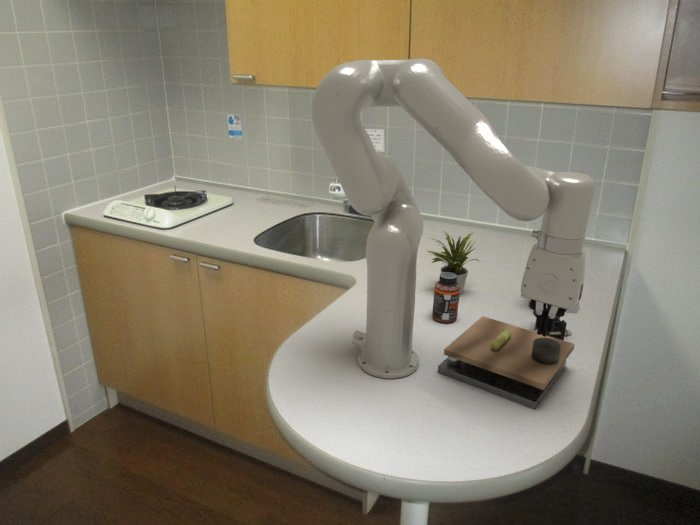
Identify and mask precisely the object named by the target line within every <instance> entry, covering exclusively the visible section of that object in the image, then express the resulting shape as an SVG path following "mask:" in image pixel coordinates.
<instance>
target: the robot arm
mask: <svg viewBox="0 0 700 525" xmlns="http://www.w3.org/2000/svg"><path fill="white" fill-rule="evenodd" d="M315 89H316V90H315V91H314V94H313V97H312V102H311V108H310V109H311V110H310V113H311V120H312V121H311V122H312V125H313V129H314V132H315V133H316V136H317V138H318V141H319V142H320V145H321V147H322V148H323V151H324V152H325V154H326V156H327V159H328V160H329V163H330V165H331V167H332V170H333V172H334V174H335V176H336V178H337V180H338V183H339V185H340V187H341V188H342V191H343V193H344V195H345V197H346V200H347V201H348V203H349V204H350V206H351V207H352V209H353V210H354V211H356V212H357V213H359V214H361V215H364V216H370V217H371V218H372V220H373V222H374V224H372V227H371V229H370V231H369V233H368V235H367V239H366V244H365V245H366V246H365V257H366V279H367V281H366V316H365V317H366V318H365V319H366V320H365V321H366V322H365V332H364V331H361V330H359V329H357V330H355V331H354V332H353V335H352V339H351V344H353V345H355V346H358V347H360V350H359V352H358V354H357V362H358V366H359V368H360V369H361V370H363V371H364V372H365V373H367V374H369V375H371V376H374V377H378V378H383V379H399V378H405V377H406V376H410V375H411V374H413V373H414V372H415V371H417V369H418V367H419V362H420V359H419V356H418V354H417V353H416V351H415V350H414V349H413V340H414V339H413V337H414V323H415V321H414V319H415V309H416V308H415V306H416V286H417V259H418V251H419V246H420V243H421V239H422V236H423V232H424V221H423V217H422V214H421V211H420V209H419V207H418V206H417V203H416V201H415V199H414V197H413V194H412V192H411V190H410V188H409V185H408V183H407V182H406V179H405V177H404V175H403V174H402V171H401V170H400V168H399V166H398V165H397V164H396V163H395V162H394V161H393V160H392V159H391V158H389V157H386V156H384V155H381V154H380V155H379V154H378V152H377V150H376V148H375V146H374V144H373V142H372V139H371V137H370V135H369V133H368V131H367V130H366V128H365V126H364V125H363V124H362V121H361V113H362V111H363V110H364V109H367V108H368V107H401V108H402V110H404V111H405V112H406V113H407V114H408V115H409V116H410V117H411V118H412V119H413V120H414V121H415V122H416V123H417V124H418V125H419V126H421V127H422V128H423V130H424V131H426V132H427V133H428V134H429V135H430V136H431V137H432V138H433V139H435V141H436V142H437V143H438V144H439V145H441V147H442V148H444V150H445V151H446V152H447V153H449V156H451V157H452V159H453V160H454V161H455V162H456V164H458V166H459V167H460V168H461V169H462V170H463V171H464V172H465V173H466V175H467V176H468V177H469V178H470V179H471V180H472V181H473V182H474V184H475V185H476V186H477V187H478V188H479V189H480V190H481V191H482V192H483V193H484V194H485V195H486V196H487V197H488V198H489V199H490V200H491V201H492V202H493V203H494V204H495V205H496V206H497V207H499V208H500V209H501V210H502V211H503V213H505V214H506V215H508V216H509V217H510V218H512V219H514V220H517V221H520V222H531V221H534V220H536V219H539V218H540V217H541V216H542V220H541V225H540V229H537V230H536V229H533V230H532V232H531V238H535V239H536V243H534V244H533V245H532V246H531V250H530V252H529V256H528V259H527V261H526V265H525V267H524V268H525V269H524V272H523V275H522V281H521V284H520V285H521V286H520V298H522V299H524V300H526V301H527V302H528V303H529V302H531V304H532V305H533V307H534V308H535V309H536V313H537V314H538V316H537V321H536V320H535V324H536V328H538V330H537V334H538V335H541V334H542V336H544V337H546V336H547V334H548V333H549V332H552V331H553V329H554V325H555V320H556V317H557V316H559V315H561V314H563V313H565V314H575V315H576V314H578V312H580V309H581V306H580V301H581V299H582V295H583V291H584V284H585V274H586V253H585V252H584V251H583V248H584V243H585V238H586V235H587V228H588V224H589V219H590V214H591V210H592V205H593V200H594V195H595V189H596V182H595V179H594V178H593V177H592V176H590V175H588V174H585V173H581V172H577V171H576V172H575V171H559V172H558V171H554V170H550V169H549V170H548V169H544V168H540V167H536V166H532V165H524V164H522V162H520V161H519V159H517V158H516V156H515V155H513V153H512V152H511V151H510V150H509V149H508V147H507V146H506V145H505V144H504V142H503V141H502V140H501V139H500V137H499V136H498V134H497V132H496V130H495V129H494V127H493V125H492V124H491V122H490V121H489V119H487V117H486V115H485V114H484V113H483V112H481V110H480V109H478V108H477V107H476V106H475V105H474V104H473V103H472V102H471V101H470V100H468V98H467V97H465V96H464V95H463V93H461V92H460V90H459V89H458V88H456V86H454V84H452V83H451V82H450V80H448V78H446V76H445V74H444V72H443V70H442V68H441V67H440V65H438V63H436V62H434V61H433V60H431V59H428V58H411V59H409V58H408V59H407V58H406V59H360V60H358V59H357V60H353V61H346V62H343V63H341V64H338V65H336V66H334V67H333V68H332V69H331V70H329V71H328V72H327V73H326V74H325V75H324V77H322V79H321V80H320V82H319V84H318V86H317V87H316V88H315ZM547 304H549V305H552V307H551V309H550V312H548V311H547Z"/></svg>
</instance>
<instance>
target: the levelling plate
mask: <svg viewBox="0 0 700 525" xmlns="http://www.w3.org/2000/svg"><path fill="white" fill-rule="evenodd" d="M534 331H535V330H534ZM534 331H533V330H529V329H526V328H523V327H521V326H516V325H513V324H510V323H507V322H502V321H500V320H496V319H494V318H491V317H486V316H484V315H483V316H481V317H480V318H478V319H477V321H475V322H474V323H473V324H471V326H469V327H468V328H467V329H466V330H464V332H462V333H461V334H460V335H459V336H458V337H456V339H454V340H453V341H452V342H451V343H450V344H449V345H448V346H446V347H445V348H444V349H443V356H446V357H448V356H449V357H452V358H455V359H458V360H460V361H463V362H466V363H469V364H472V365H474V366H477V367H480V368H483V369H486V370H489V371H491V372H494V373H497V374H500V375H503V376H505V377H508V378H511V379H514V380H517V381H520V382H522V383H525V384H528V385H531V386H534V387H536V388H539V389H542V390H544V389H545V387H546V386H547V385H548V383H549V382H550V381H551V379H552V378H553V376H554V375H555V374H556V372H557V371H558V370H559V368H560V367H561V366H562V364H563V363H564V362H565V360H566V361H567V359H568V357H569V356H570V355H571V354H572V352H573V351H574V349H575V343H573V342H571V341H567V340H564V341H563V340H560V339H557V338H554V337H550V336H546V337H544V336H542V334H541V335H538V334H537V332H534Z"/></svg>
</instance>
